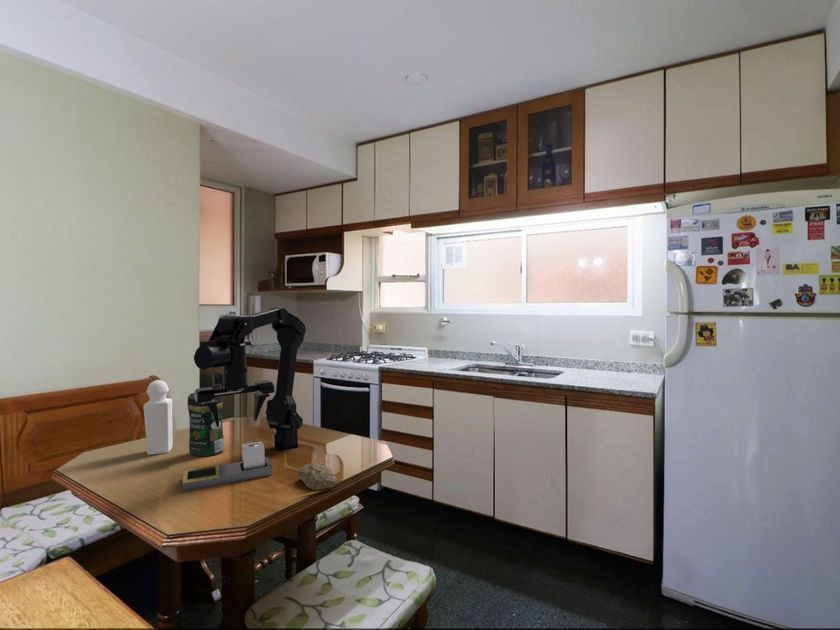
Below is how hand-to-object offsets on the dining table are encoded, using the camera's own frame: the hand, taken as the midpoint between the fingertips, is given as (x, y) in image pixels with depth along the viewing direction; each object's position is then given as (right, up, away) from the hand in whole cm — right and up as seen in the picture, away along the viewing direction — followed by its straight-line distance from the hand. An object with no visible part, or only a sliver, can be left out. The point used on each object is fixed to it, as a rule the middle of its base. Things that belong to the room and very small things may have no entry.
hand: (237, 423), depth 114 cm
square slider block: (+5, -12, -1) cm, 13 cm away
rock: (+24, -13, -9) cm, 28 cm away
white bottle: (-32, -14, +20) cm, 41 cm away
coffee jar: (-16, -13, +17) cm, 27 cm away
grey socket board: (0, -13, -4) cm, 14 cm away
